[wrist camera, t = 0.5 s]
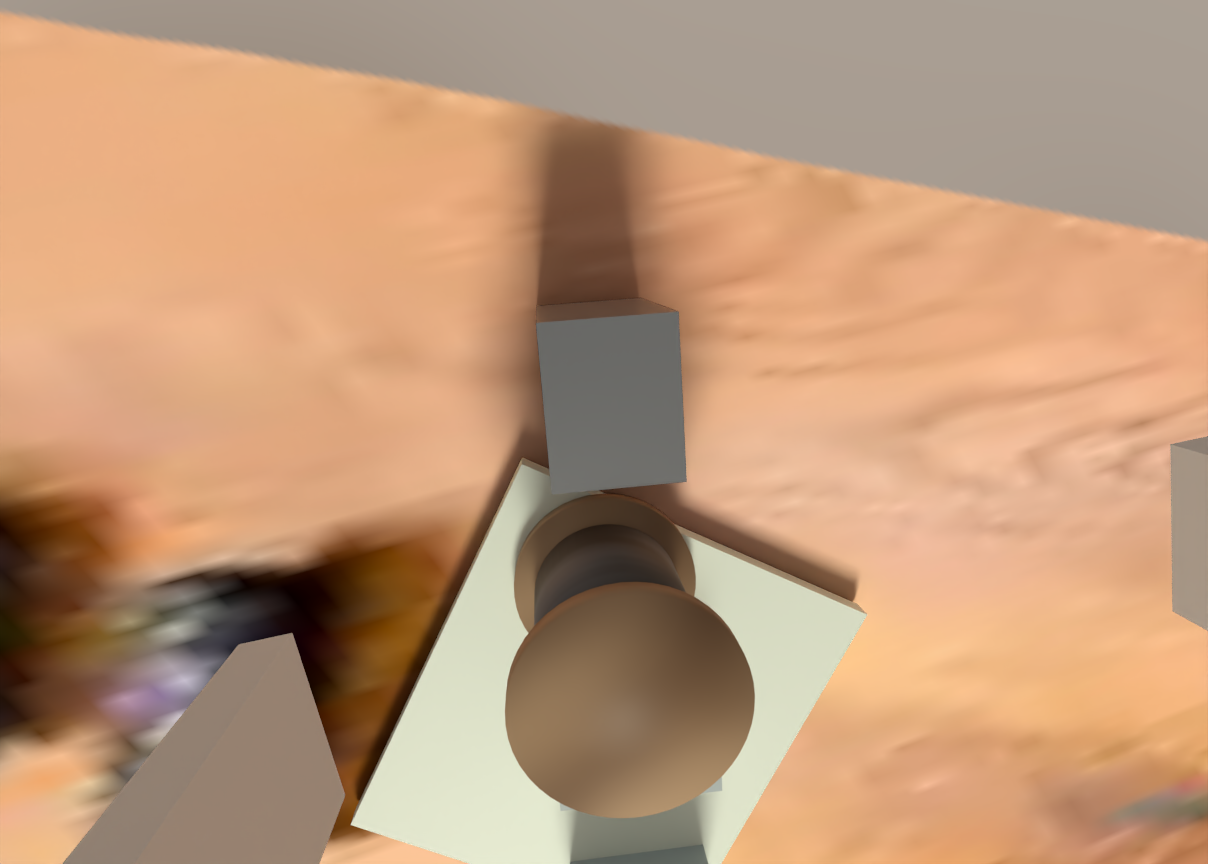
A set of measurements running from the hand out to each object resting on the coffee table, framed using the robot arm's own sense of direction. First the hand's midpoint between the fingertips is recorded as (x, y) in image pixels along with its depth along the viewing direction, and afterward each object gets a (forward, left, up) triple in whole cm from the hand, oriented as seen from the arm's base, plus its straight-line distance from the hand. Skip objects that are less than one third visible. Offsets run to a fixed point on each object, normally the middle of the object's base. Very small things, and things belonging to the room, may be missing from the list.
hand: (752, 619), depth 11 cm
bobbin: (+3, -7, -19) cm, 20 cm away
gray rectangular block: (-1, +1, -19) cm, 19 cm away
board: (+6, -13, -19) cm, 23 cm away
